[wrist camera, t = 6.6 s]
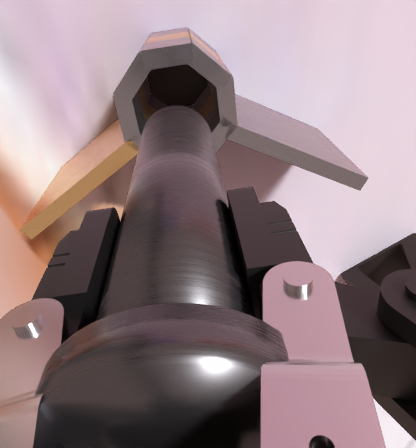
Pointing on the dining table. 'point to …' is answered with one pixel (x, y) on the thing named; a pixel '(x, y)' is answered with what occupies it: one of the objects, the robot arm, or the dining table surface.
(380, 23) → the dining table surface
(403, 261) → the phone stand
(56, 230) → the dining table surface
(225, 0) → the dining table surface
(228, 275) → the hinge pin
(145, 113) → the hinge
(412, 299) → the robot arm
